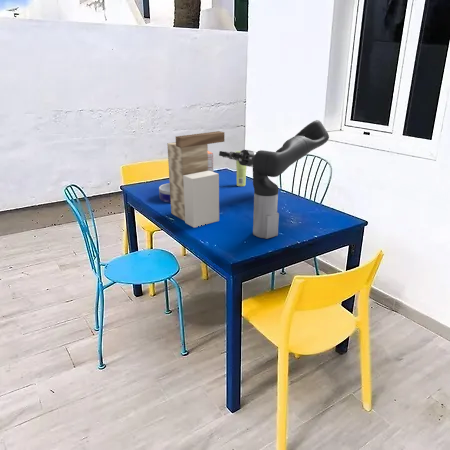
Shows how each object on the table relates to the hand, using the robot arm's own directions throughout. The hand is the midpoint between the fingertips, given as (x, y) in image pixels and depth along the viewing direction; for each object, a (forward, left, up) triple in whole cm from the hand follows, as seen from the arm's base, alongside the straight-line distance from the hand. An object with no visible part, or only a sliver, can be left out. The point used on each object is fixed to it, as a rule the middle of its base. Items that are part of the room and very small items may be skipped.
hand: (226, 154), depth 177 cm
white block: (-9, +20, -25) cm, 33 cm away
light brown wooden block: (-2, +15, +7) cm, 16 cm away
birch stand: (+2, +19, -25) cm, 32 cm away
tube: (+23, -29, -26) cm, 45 cm away
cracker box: (+31, -9, -26) cm, 42 cm away
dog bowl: (+27, +12, -26) cm, 40 cm away
